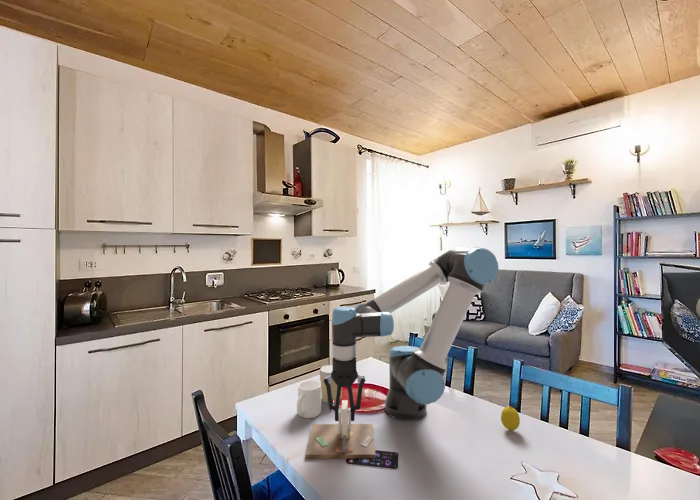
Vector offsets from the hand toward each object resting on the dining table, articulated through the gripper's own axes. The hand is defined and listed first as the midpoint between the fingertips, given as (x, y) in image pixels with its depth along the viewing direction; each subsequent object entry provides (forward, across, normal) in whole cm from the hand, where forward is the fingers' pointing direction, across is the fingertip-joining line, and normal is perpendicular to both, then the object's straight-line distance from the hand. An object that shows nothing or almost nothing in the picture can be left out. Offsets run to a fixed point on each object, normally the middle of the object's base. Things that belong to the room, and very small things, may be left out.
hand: (344, 430), depth 104 cm
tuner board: (+3, +1, +2) cm, 3 cm away
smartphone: (+3, -8, +10) cm, 13 cm away
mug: (+3, +14, -14) cm, 20 cm away
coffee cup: (+3, +6, -27) cm, 28 cm away
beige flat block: (+1, 0, +3) cm, 4 cm away
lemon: (+3, -54, -4) cm, 54 cm away
